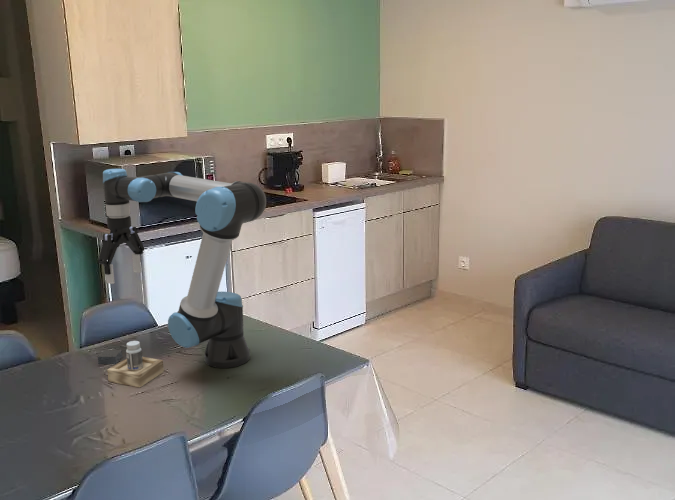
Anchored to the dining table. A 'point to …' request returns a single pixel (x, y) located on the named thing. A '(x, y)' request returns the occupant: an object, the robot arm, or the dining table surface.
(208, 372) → the dining table surface
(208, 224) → the robot arm
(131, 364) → the pill bottle
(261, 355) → the dining table surface
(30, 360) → the dining table surface
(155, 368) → the stand
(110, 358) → the black tin
